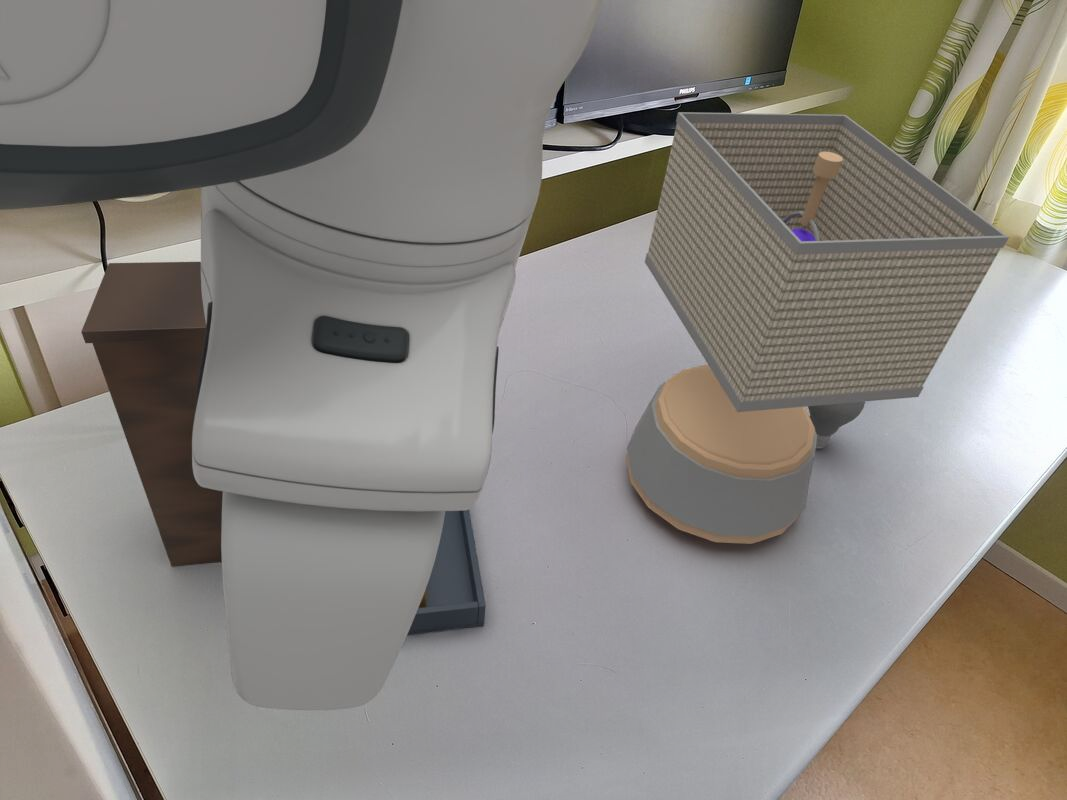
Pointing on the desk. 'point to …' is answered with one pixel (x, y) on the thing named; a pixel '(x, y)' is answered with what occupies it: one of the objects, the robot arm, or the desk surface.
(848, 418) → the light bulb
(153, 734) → the desk surface
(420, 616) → the tray
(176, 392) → the stand
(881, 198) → the desk lamp
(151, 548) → the desk surface
